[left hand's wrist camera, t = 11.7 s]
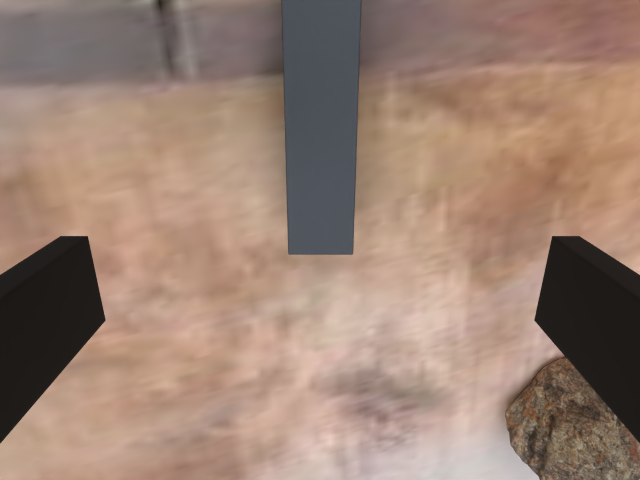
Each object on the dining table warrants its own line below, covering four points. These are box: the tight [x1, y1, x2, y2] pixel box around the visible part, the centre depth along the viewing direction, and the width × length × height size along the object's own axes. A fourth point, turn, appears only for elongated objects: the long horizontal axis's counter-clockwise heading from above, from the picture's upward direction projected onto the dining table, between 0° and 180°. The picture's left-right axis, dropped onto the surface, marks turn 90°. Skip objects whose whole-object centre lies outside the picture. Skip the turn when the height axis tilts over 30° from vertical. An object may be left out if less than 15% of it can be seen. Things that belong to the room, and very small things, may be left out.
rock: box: [505, 358, 640, 480], centre depth 40 cm, size 14×9×10 cm
